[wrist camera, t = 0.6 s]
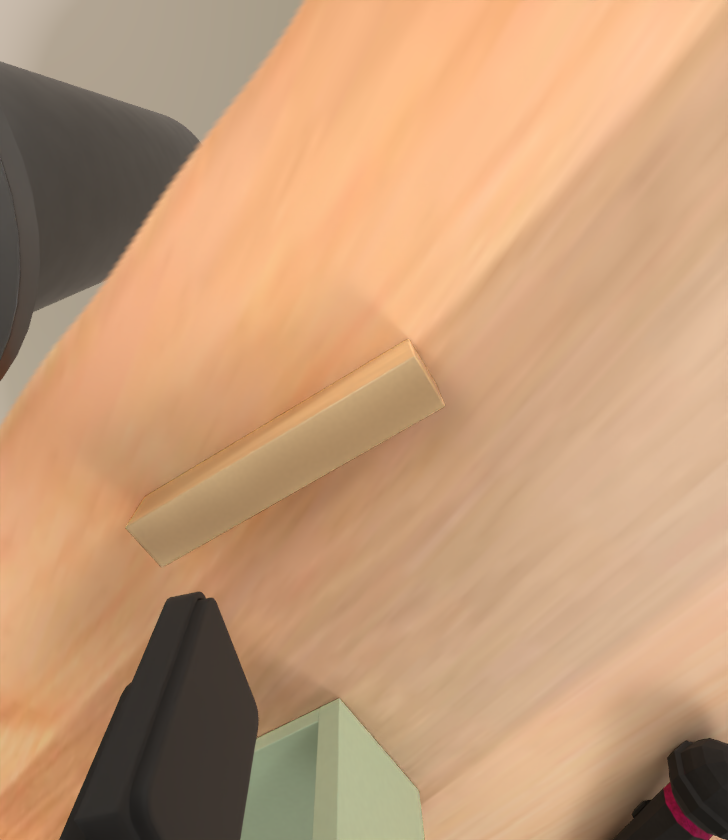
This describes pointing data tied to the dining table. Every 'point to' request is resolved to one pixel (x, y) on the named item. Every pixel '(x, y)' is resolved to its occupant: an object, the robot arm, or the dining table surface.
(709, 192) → the dining table surface
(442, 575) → the dining table surface
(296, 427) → the stick
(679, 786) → the microphone
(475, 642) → the dining table surface
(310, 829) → the shelf
